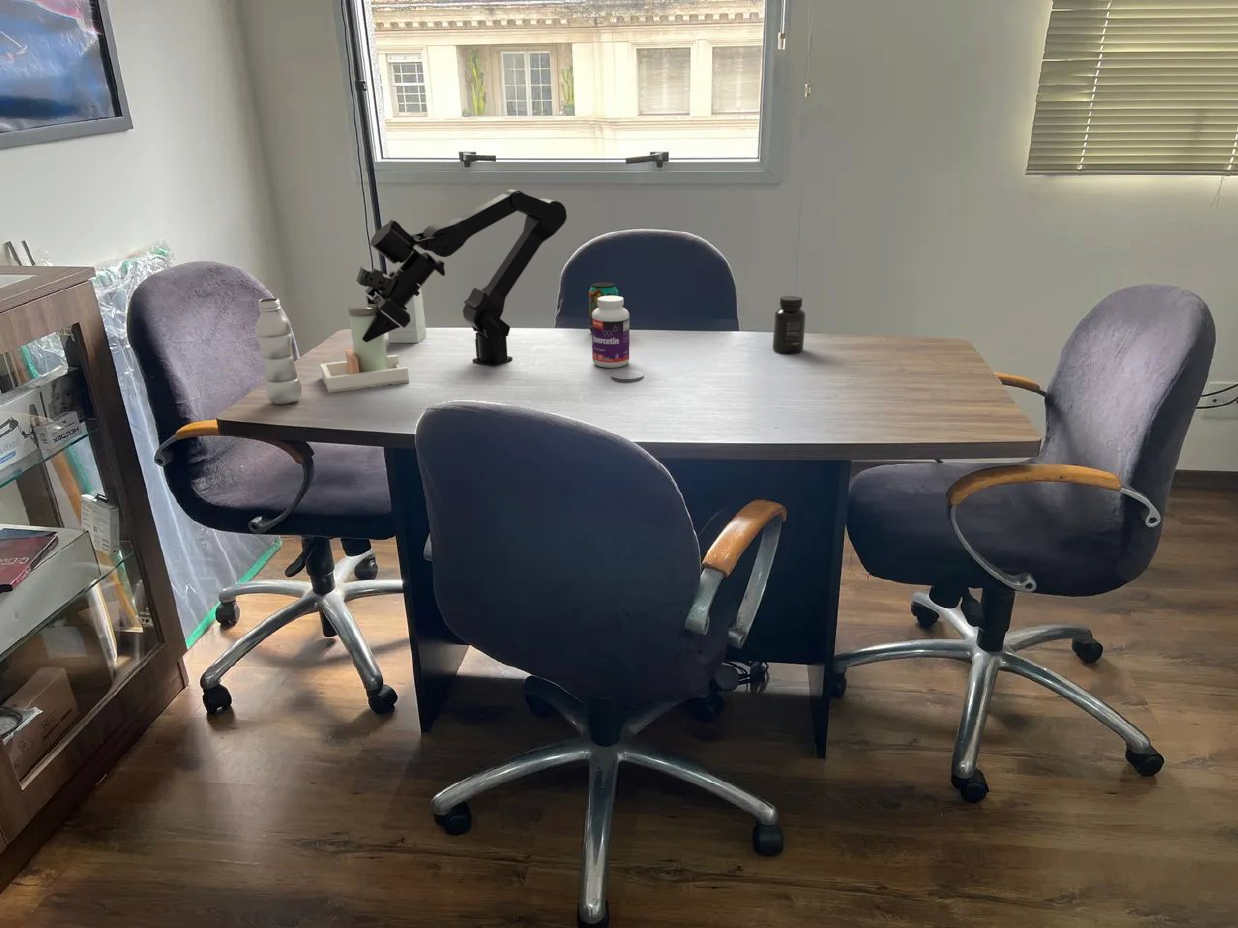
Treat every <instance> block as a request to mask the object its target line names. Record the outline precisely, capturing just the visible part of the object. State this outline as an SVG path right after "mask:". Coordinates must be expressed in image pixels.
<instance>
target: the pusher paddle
mask: <svg viewBox="0 0 1238 928" xmlns="http://www.w3.org/2000/svg"><path fill="white" fill-rule="evenodd" d="M345 358H346V361H347V365H348V372H349V374H356V373H359V367H358V359H357V357H356V355H355V354H354V350H353V349H352V348H345Z"/></svg>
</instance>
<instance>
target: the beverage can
mask: <svg viewBox="0 0 1238 928" xmlns="http://www.w3.org/2000/svg"><path fill="white" fill-rule="evenodd" d="M602 296H619V290H618V288H617V287H616V283H615V282H611V281H598V282H597V281H596V282H593V283H591V287H590V289H589V290H588V308H589V331H590V333H592V313H593V311H594V310H595V309H597V308H599V306H598V304H597V303H598V298H599V297H602Z"/></svg>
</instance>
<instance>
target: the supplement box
mask: <svg viewBox="0 0 1238 928" xmlns="http://www.w3.org/2000/svg"><path fill="white" fill-rule="evenodd" d="M419 286H420V285H419ZM420 287H421V286H420ZM419 292H420V294H419V295H418V296H416V295H414V297H413V298H412V299H411V300H410V301H409V303H408V304H407V305H406V306H405V307H406V308H407V310H406V311H407V312H408V313H409V314H410V322H409V324H408V325H407V326H406V327H405V328H404V327H402V326H401V325H400V324H399V325H400V328H396V329H394V330H392V331H389V332H387V333H388V334H387V335H388V336H387V337H388V341H389V343H390V344H391V343H394V344H395V343H397V344H398V343H400V344H401V343H402V344H403V343H404V344H405V343H408V344H412V343H413V344H415V343H416V344H417V343H420V342H421V341H422V340H423V339H424V338H426V337H427V329H426V328H427V327H426V320H425V312H424V311H425V310H424V309H425V308H424V301H423V292H422V287H421V288H420V289H419Z"/></svg>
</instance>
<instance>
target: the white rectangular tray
mask: <svg viewBox="0 0 1238 928" xmlns="http://www.w3.org/2000/svg"><path fill="white" fill-rule="evenodd" d="M399 360H400V359H399V354H392V355H387V362H388V369H387V370H379V371H371V372H363V373H356V374H349V372H348V365H347V360H344V361H336V362H335V361H334V362H326V363H320V364H319V365H320V372H321V378H322V380H323V383H324V385H325V387H326V390H327V392H328V394H331V393H337V392H346V391H353V390H361V388H363V389H368V388H367V387H370V388H373V387H372V386H377V387H380V386H379V385H385V386H388V385H387V384H392V385H399V384H407V383H410V379H409V378H410V377H409V369H408V367H407V366H402V365H401V364H400V361H399Z"/></svg>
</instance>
